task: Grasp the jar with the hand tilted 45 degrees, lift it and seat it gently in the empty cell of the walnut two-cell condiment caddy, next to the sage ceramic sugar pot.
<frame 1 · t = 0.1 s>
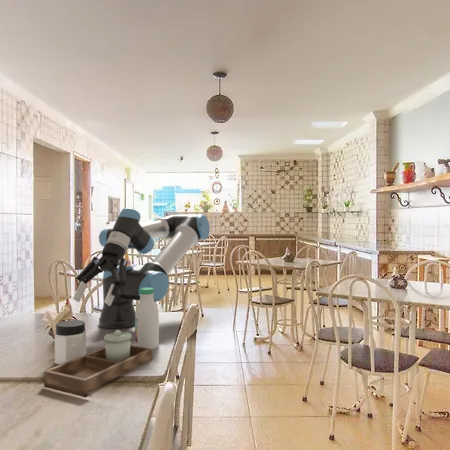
hand: (91, 302, 139), 15 cm above the table, tool tilted 35°, fingers open, 13 cm apart
sugar pot: (118, 362, 123), point 1 cm above the table, touching caddy
caddy: (102, 373, 117), on the table
jar: (70, 364, 125), on the table
milk bottle: (147, 349, 139), on the table
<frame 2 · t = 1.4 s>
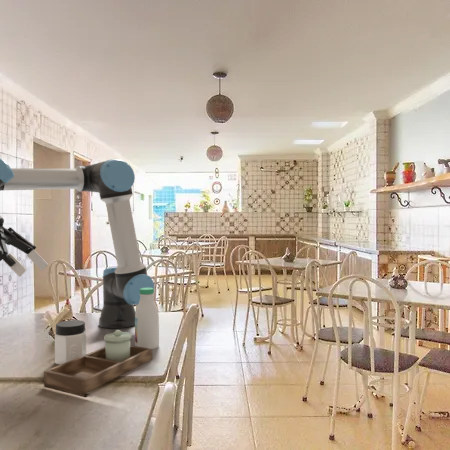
hand: (34, 270, 125), 28 cm above the table, tool tilted 45°, fingers open, 13 cm apart
nothing on the table moved.
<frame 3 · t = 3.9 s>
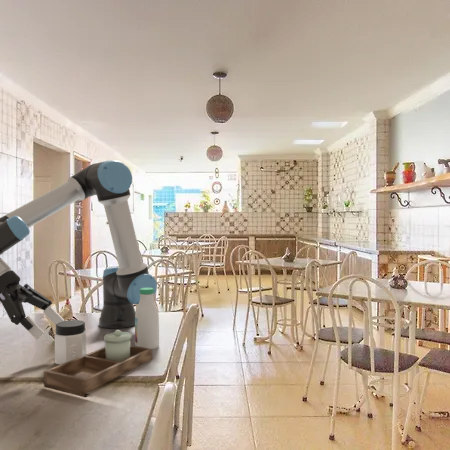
hand: (51, 329, 124), 10 cm above the table, tool tilted 45°, fingers open, 13 cm apart
nothing on the table moved.
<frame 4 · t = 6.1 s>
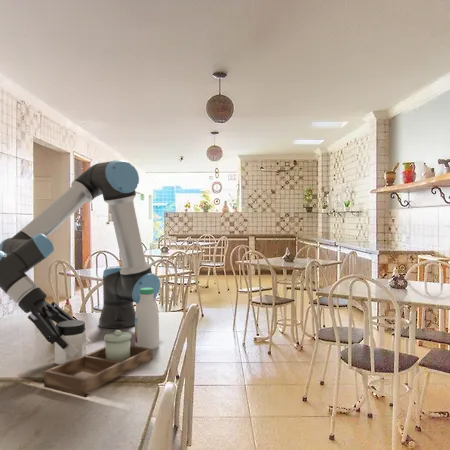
hand: (81, 349, 125), 4 cm above the table, tool tilted 45°, fingers closed on jar, 9 cm apart
jar: (70, 364, 125), on the table, touching gripper
everything else where it was.
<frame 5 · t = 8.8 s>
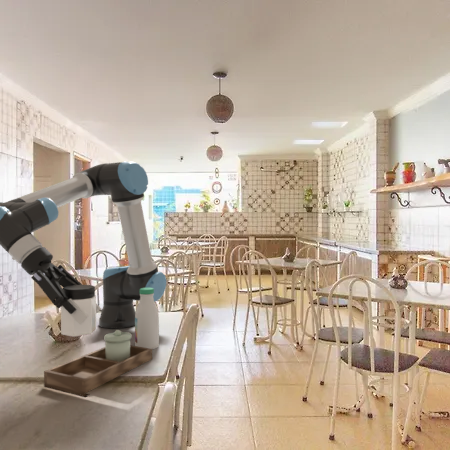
hand: (91, 316, 112), 17 cm above the table, tool tilted 45°, fingers closed on jar, 9 cm apart
jar: (78, 332, 112), point 13 cm above the table, touching gripper
everything else where it was.
when the fingers open (7 cm above the table, at t = 11.3 s): jar drops 1 cm, resting on caddy.
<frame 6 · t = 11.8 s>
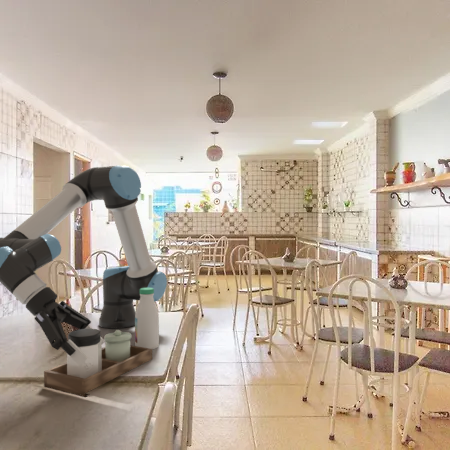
hand: (93, 353, 111), 8 cm above the table, tool tilted 45°, fingers open, 13 cm apart
jar: (84, 378, 112), point 1 cm above the table, touching caddy
everything else where it was.
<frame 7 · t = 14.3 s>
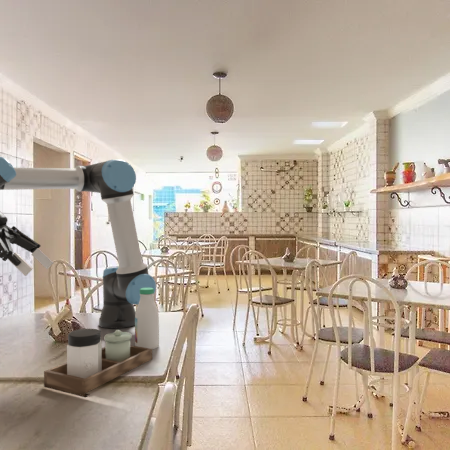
hand: (40, 269, 123), 28 cm above the table, tool tilted 45°, fingers open, 13 cm apart
nothing on the table moved.
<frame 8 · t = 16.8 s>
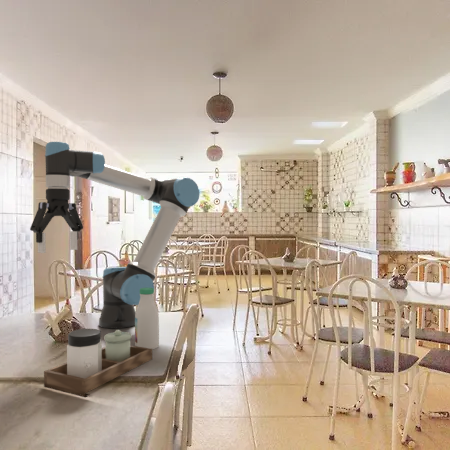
hand: (58, 251, 143), 32 cm above the table, tool pointing down, fingers open, 13 cm apart
nothing on the table moved.
at the end: jar inside the target area on the caddy (0.3 cm from its centre), point 0.8 cm above the caddy's base; jar tilted 0°; the gripper is holding nothing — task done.
